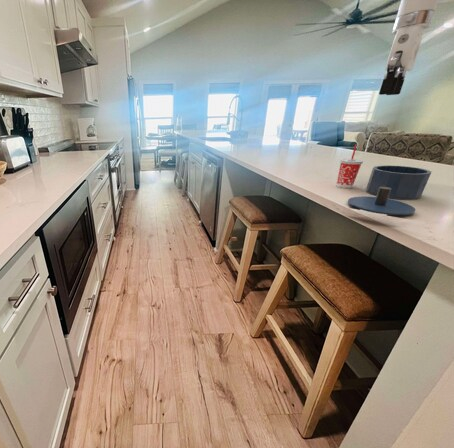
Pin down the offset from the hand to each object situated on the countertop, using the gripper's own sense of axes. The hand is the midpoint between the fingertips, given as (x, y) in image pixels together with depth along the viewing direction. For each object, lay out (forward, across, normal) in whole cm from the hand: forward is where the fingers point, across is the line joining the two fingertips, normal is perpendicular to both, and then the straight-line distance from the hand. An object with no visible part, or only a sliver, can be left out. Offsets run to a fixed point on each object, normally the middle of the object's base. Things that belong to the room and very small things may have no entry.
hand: (389, 94), depth 73 cm
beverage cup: (+28, -5, +4) cm, 29 cm away
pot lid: (+28, -23, -9) cm, 37 cm away
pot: (+28, -5, -9) cm, 30 cm away
